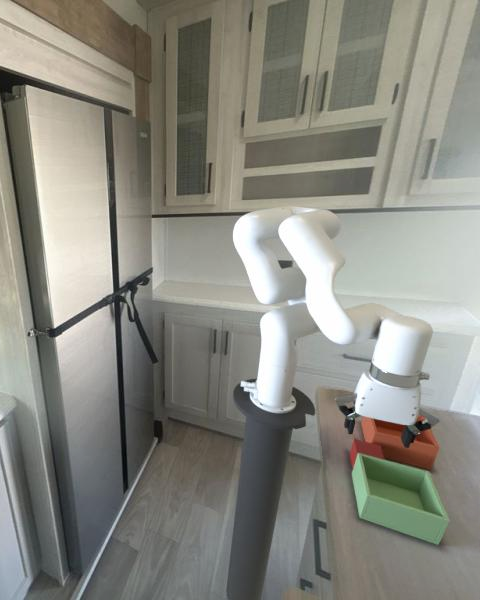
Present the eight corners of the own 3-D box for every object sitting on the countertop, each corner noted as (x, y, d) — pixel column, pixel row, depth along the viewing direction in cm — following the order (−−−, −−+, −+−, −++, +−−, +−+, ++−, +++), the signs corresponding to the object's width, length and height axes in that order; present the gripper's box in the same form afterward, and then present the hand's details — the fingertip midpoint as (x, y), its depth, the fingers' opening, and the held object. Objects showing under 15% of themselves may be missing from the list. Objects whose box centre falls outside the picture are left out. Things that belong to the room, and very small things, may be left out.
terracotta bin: (368, 453, 82) (374, 432, 79) (360, 423, 91) (366, 403, 88) (430, 470, 76) (439, 448, 74) (416, 436, 85) (424, 415, 83)
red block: (352, 469, 79) (357, 453, 77) (349, 453, 82) (353, 438, 81) (379, 477, 76) (385, 461, 74) (375, 460, 80) (380, 445, 78)
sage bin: (359, 517, 68) (367, 495, 66) (351, 473, 77) (357, 452, 75) (438, 545, 62) (450, 521, 60) (419, 494, 72) (429, 471, 69)
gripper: (445, 372, 68) (423, 437, 74) (339, 357, 77) (327, 416, 83) (459, 393, 62) (434, 462, 68) (343, 374, 71) (330, 436, 77)
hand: (376, 436), depth 75 cm, fingers open, 9 cm apart
